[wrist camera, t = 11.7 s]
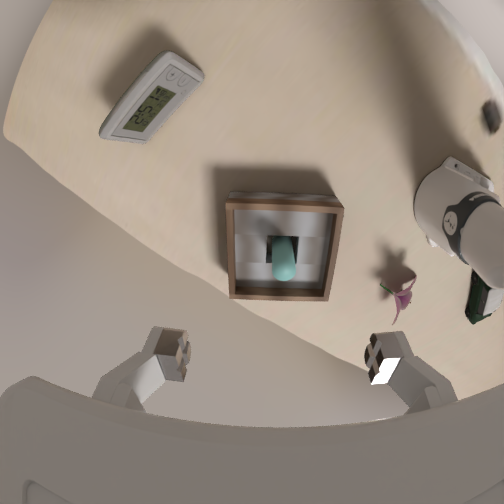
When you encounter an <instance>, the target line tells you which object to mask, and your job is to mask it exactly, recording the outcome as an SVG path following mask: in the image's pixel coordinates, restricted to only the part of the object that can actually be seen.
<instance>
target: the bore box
mask: <svg viewBox="0 0 504 504" xmlns="http://www.w3.org/2000/svg"><path fill="white" fill-rule="evenodd" d="M343 214H344V207H343V205H342V204H341V203H340V201H339V200H338V198H337V197H336V196H329V195H313V194H294V193H268V192H230V194H229V197H228V199H227V201H226V232H227V257H228V278H229V298H230V299H249V300H277V301H328V299H329V294H330V290H331V285H332V280H333V274H334V269H335V264H336V258H337V252H338V246H339V240H340V234H341V228H342V221H343ZM267 235H278V236H297V238H296V249H295V254H294V260H295V266H296V274H295V276H294V277H293V278H292V279H290V280H288V281H280V280H277V279H276V278H275V277H274V276H273V274H272V253H266V243H267Z"/></svg>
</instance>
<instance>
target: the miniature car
mask: <svg viewBox="0 0 504 504" xmlns="http://www.w3.org/2000/svg"><path fill="white" fill-rule="evenodd" d="M471 280H472V282H473V283H474V284H476V285H473V288H472V294H471V299H470V303H469V307H468V308H466V310H465V314H466V317H467V318H468V319H469V321H470V322H471V323H472V324H475V323H476V322H478V321H481V320H483V319H484V318H486V317H489V316H491V314H492V312H494V311H495V310H496V309H498V308H499V306H500V304H501V301H502V297H503V294H504V289H503V290H501V289H494V288H491V287H490V286H488V285H487V284H486V283H485V282H484V281H483V279H482V278H481V277H480V276H479V275H478V274H477V273H476V272H473V273H472V275H471Z"/></svg>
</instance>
